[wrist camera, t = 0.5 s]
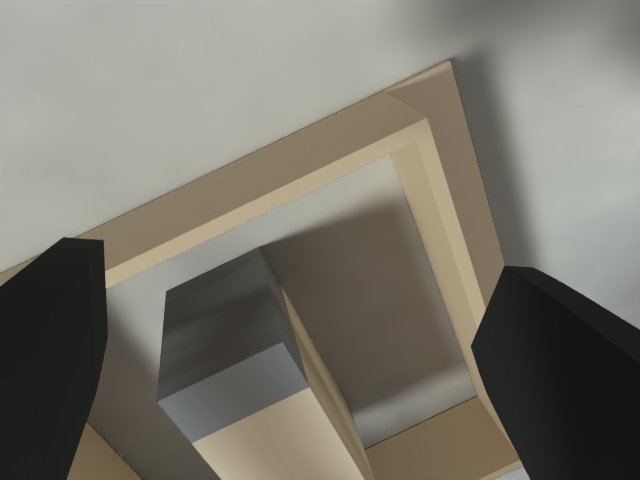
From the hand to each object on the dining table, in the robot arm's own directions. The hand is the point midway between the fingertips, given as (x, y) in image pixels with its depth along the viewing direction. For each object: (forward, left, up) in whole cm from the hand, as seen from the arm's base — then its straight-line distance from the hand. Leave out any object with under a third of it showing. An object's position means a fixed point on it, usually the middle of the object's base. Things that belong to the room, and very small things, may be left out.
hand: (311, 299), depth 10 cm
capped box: (-4, -9, -10) cm, 14 cm away
